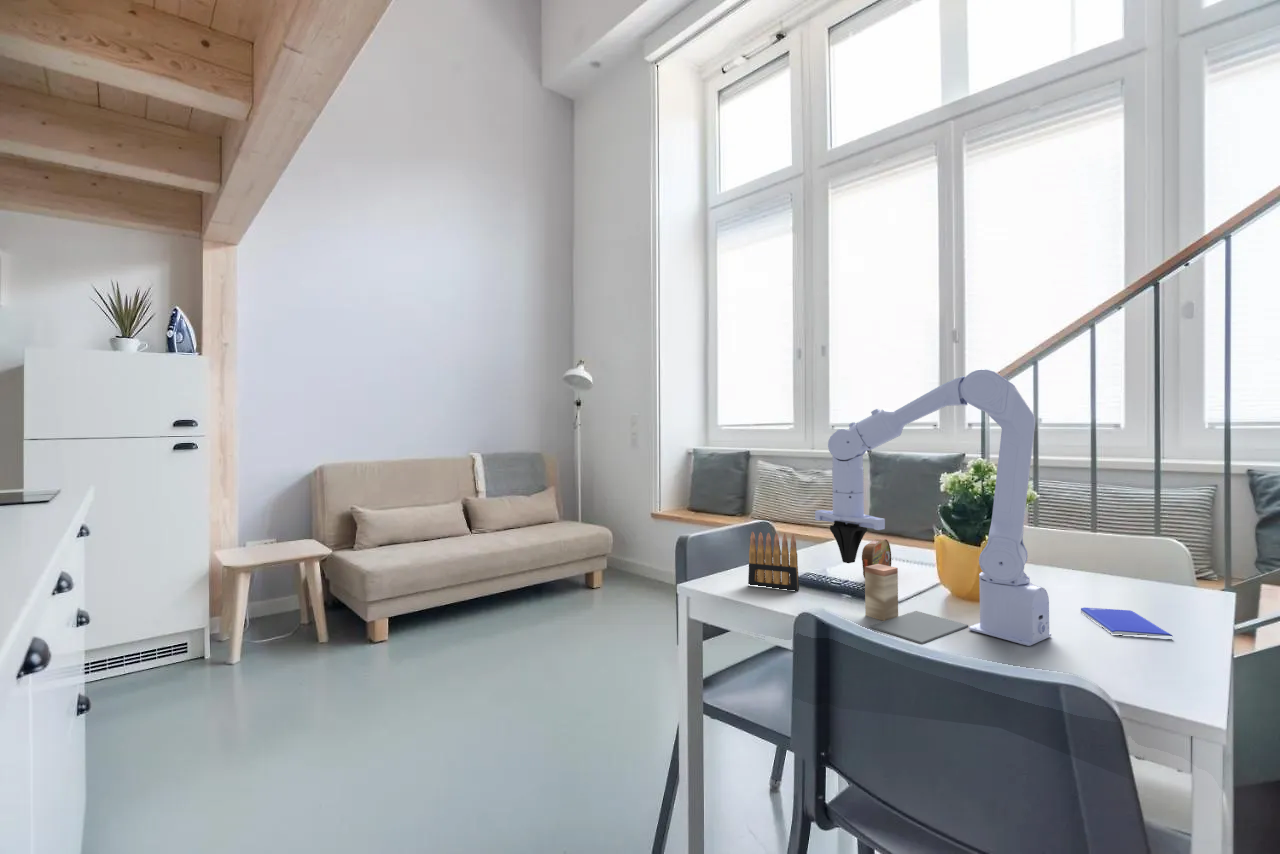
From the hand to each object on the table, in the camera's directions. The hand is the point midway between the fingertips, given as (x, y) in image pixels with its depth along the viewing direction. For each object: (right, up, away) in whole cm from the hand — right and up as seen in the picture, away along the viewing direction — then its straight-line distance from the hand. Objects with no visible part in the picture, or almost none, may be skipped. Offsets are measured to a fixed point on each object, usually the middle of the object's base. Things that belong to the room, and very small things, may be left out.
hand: (848, 562), depth 115 cm
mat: (+8, -9, -12) cm, 17 cm away
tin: (+14, -9, +21) cm, 27 cm away
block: (+4, -9, -6) cm, 11 cm away
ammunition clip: (-11, -9, +14) cm, 20 cm away
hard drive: (+43, -9, -12) cm, 46 cm away
